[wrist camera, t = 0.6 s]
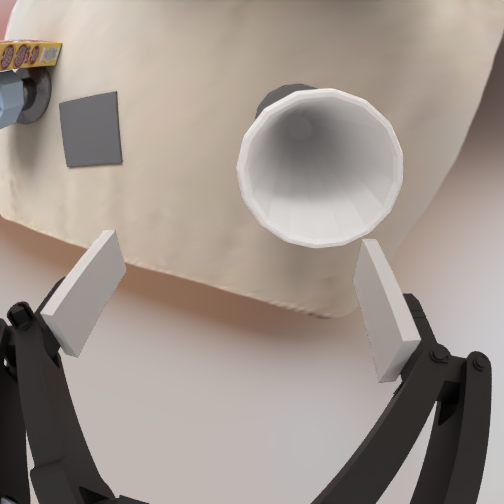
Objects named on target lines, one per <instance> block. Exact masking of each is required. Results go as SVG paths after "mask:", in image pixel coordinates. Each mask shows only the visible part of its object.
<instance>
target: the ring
mask: <svg viewBox="0 0 504 504" xmlns="http://www.w3.org/2000/svg"><path fill="white" fill-rule="evenodd" d="M23 105H24V99H23V81H22V80H21V79H20V78H19V77H18V76H17V75H16V74H15V73H14V72H13V71H12V70H10V71H4V72H0V129H2V128H4V127H7V126H9V125H12V124H14V123H16V121H17V118H18V116H19V114H20V111H21V109H22V107H23Z"/></svg>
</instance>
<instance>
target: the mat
mask: <svg viewBox="0 0 504 504" xmlns="http://www.w3.org/2000/svg"><path fill="white" fill-rule="evenodd" d="M59 109H60V120H61V129H62V137H63V145H64V152H65V158H66V164H67V167H70V166H80V165H92V164H105V163H121V162H122V153H121V143H120V132H119V119H118V103H117V91H116V92H111V93H105V94H100V95H94V96H89V97H85V98H80V99H76V100H71V101H67V102H63V103H59Z"/></svg>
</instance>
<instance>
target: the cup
mask: <svg viewBox="0 0 504 504" xmlns="http://www.w3.org/2000/svg"><path fill="white" fill-rule="evenodd" d="M236 171H237V176H238V181H239V185H240V190H241V195H242V200H243V202H244V203H245V204H246V206H247V207H248V209H249V210H250V212H251V213H252V215H253V216H254V217H255V219H256V220H257V222H258V223H259V225H260V226H262V227H263V228H265V229H266V230H268V231H269V232H271V233H272V234H274V235H275V236H277V237H278V238H280V239H281V240H283V241H284V242H287V243H292V244H296V245H300V246H305V247H309V248H313V249H317V248H325V247H334V246H343V245H346V244H348V243H350V242H352V241H354V240H356V239H358V238H360V237H362V236H364V235H366V234H368V233H370V232H371V231H372V230H373V229H374V228H375V227H376V226H377V225H378V224H379V223H380V222H381V221H382V220H383V219H384V218H385V217H386V216H387V215H388V214H389V213H390V212H391V210H392V208H393V206H394V203H395V201H396V199H397V196H398V194H399V192H400V189H401V187H402V184H403V152H402V149H401V147H400V144H399V142H398V139H397V137H396V134H395V132H394V130H393V128H392V125H391V123H390V122H389V121H388V120H387V119H386V118H385V117H384V116H383V115H382V114H381V113H380V112H378V111H377V110H376V109H375V108H374V107H373V106H372V105H371V104H370V103H369V102H368V101H367V100H365V99H362V98H359V97H357V96H354V95H351V94H348V93H346V92H343V91H340V90H337V89H334V88H327V89H317V88H313V87H310V86H306V85H303V84H295V85H285V86H282V87H280V88H278V89H276V90H275V91H273V92H271V93H269V94H268V95H267V96H266V98H265V99H264V100H263V101H262V103H261V104H260V105H259V107H258V110H257V114H256V118H255V122H254V123H253V124H252V126H251V127H250V128H249V130H248V131H247V132H246V134H245V135H244V136H243V140H242V145H241V149H240V154H239V158H238V163H237V167H236Z"/></svg>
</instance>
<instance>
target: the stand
mask: <svg viewBox="0 0 504 504" xmlns="http://www.w3.org/2000/svg"><path fill="white" fill-rule="evenodd" d="M15 74H16V75H17V76H18V77H19V78H20V79H21V80H22V81H23V99H24V105H23V107H22V109H21V111H20V114H19V116H18V118H17V122H18V123H20V124H29V123H31V122H34V121H36V120H38V119H39V118H40V117H41V116H42V115H43V113H44V112H45V110H46V108H47V106H48V104H49V100H50V96H51V80H50V76H49V73H48V71H47V70H46V68H45V67H44V66H37V67H27V68H19V69H18V70H17V71H16V72H15Z"/></svg>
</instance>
